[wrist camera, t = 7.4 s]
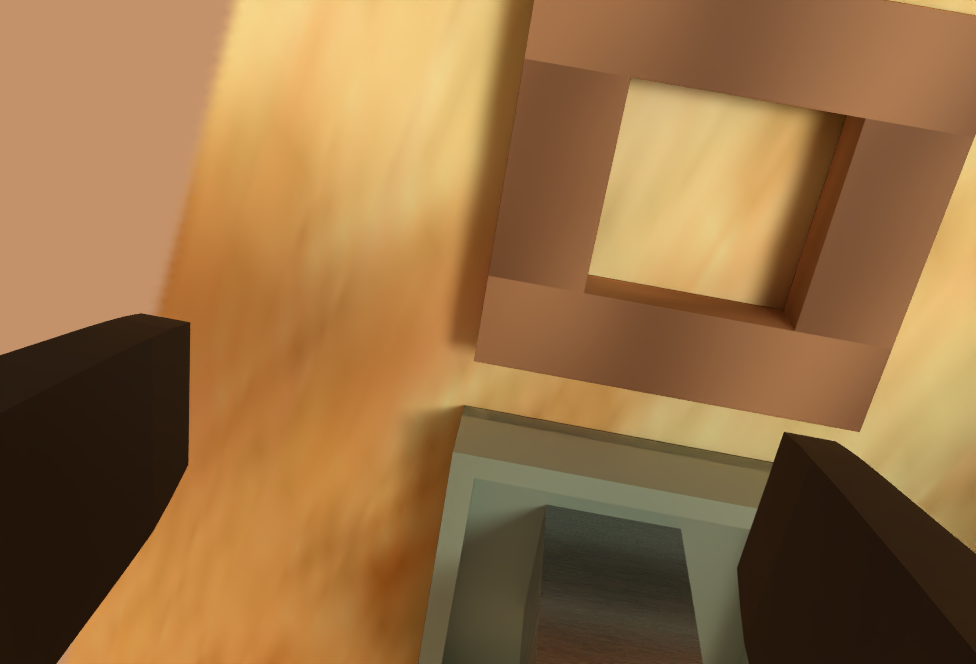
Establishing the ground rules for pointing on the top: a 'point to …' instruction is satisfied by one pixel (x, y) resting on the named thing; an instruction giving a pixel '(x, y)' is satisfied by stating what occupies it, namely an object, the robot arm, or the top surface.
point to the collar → (834, 230)
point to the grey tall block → (608, 593)
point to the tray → (585, 487)
